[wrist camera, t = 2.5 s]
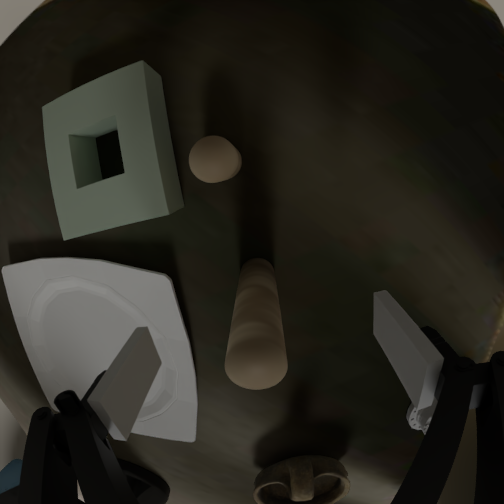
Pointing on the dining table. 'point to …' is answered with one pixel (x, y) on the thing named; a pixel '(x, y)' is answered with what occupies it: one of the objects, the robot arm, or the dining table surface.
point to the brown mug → (302, 481)
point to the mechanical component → (421, 416)
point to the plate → (104, 333)
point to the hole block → (132, 149)
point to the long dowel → (256, 330)
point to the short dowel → (214, 159)
